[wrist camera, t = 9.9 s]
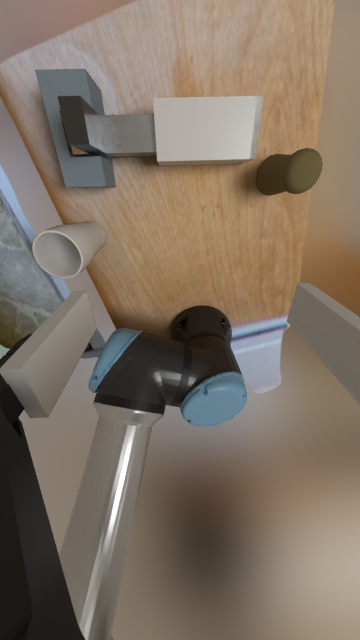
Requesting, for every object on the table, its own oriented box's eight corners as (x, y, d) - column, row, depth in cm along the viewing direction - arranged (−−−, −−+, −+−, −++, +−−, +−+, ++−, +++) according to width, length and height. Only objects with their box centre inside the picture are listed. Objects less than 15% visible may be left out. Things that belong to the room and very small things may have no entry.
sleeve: (241, 163, 36) (255, 158, 30) (159, 166, 36) (157, 161, 30) (246, 113, 33) (263, 95, 27) (156, 115, 33) (153, 98, 27)
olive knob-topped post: (253, 163, 36) (281, 154, 27) (289, 147, 35) (331, 132, 26) (259, 200, 39) (286, 204, 30) (292, 187, 38) (331, 186, 29)
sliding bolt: (195, 155, 34) (204, 142, 25) (83, 158, 34) (48, 146, 24) (196, 120, 32) (206, 92, 22) (75, 123, 32) (34, 95, 22)
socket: (115, 186, 37) (105, 186, 32) (81, 187, 37) (65, 187, 32) (100, 90, 31) (85, 68, 26) (59, 91, 31) (35, 69, 25)
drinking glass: (68, 221, 40) (20, 236, 27) (101, 212, 40) (68, 223, 27) (84, 256, 44) (48, 284, 31) (115, 248, 43) (91, 274, 30)
